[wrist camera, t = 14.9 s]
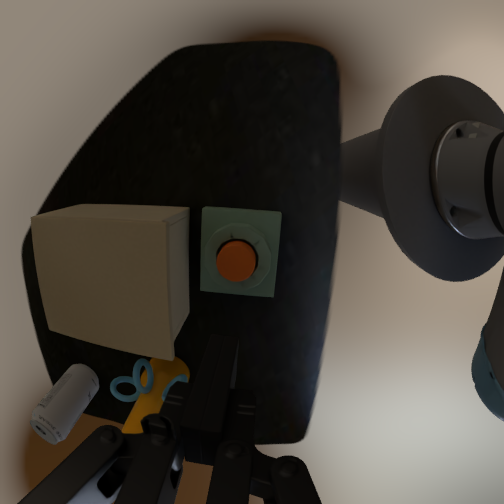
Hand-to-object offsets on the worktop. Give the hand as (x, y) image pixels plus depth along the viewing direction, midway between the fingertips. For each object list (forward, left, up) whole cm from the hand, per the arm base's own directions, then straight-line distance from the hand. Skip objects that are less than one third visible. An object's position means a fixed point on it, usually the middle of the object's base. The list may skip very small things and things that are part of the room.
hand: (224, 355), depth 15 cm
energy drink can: (+26, +23, -17) cm, 38 cm away
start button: (+1, -1, -14) cm, 14 cm away
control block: (+1, -1, -17) cm, 17 cm away
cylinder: (+10, +17, -17) cm, 26 cm away
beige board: (+13, +1, -8) cm, 15 cm away
